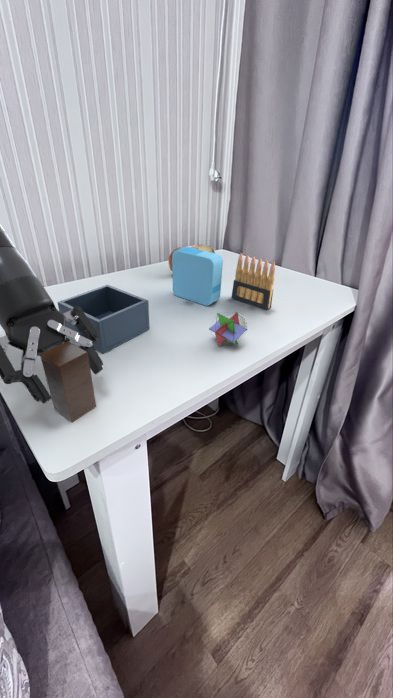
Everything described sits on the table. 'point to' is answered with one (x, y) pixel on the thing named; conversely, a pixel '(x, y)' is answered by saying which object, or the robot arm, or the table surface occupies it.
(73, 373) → the block
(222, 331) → the geometric puzzle
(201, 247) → the tin
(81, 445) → the table surface
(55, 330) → the robot arm
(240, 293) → the ammunition clip
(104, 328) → the bin
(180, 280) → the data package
